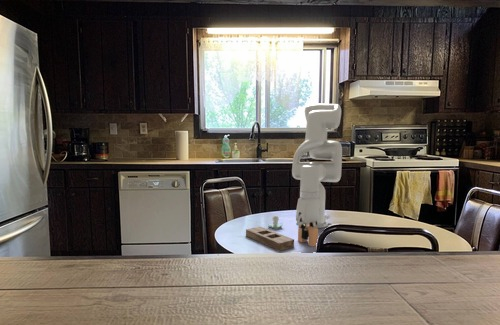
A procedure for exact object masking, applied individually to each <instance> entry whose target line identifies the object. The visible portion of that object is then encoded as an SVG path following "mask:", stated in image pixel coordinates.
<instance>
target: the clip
mask: <svg viewBox="0 0 500 325" xmlns="http://www.w3.org/2000/svg"><path fill="white" fill-rule="evenodd" d="M297 226H298V225H297ZM304 226H305V224H304ZM297 228H298V229H297V230H298V231H297V241H298V242H300V243H305V242H307V244H308V246H310V247H316V243H317V239H318V240H319V228H315V227H312V226H309V225H308V228H307V230H308V233H309V237H308V240H305V239H302V229H301V228H300V227H299V226H298V227H297Z"/></svg>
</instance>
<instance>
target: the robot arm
mask: <svg viewBox="0 0 500 325" xmlns="http://www.w3.org/2000/svg"><path fill="white" fill-rule="evenodd" d="M304 115H305V120H306V128H305V138H304V141H303V142H302V143H301V144H300V145H299V146H298V147H297V148H296V151H295V152H294V155H293V159H292V168H291V174H292V175H291V176H292V177H293V178H294V179H295V180H300V182H299V188H300V189H299V198H298V199H297V203H296V204H297V205H296V210H295V213H296V214H295V221H296V222H295V225H296V226H299V227H300V228H301V229H302V239H305V240H307V241H309V233H308V230H307V228H308V225H309V226H312V227H315V228H318V229H321V228H326V227H328V222H327V220H329V219H331V216H330V215H329V214H328V215H325V212H326V210H325V209H326V189H325V187H324V185H323V184H322V183H321V182H324V183H326V182H327V183H338V182H339V181H340V180H341V177H342V167H343V166H342V165H343V164H342V163H343V147H342V144H341V142H340V141H338V140H328V130H331V129H333V130H335V129H338V127H339V126H340V124H341V117H342V108H341V106H340V104H338V103H312V104H311V103H310V104H307V105H306V107H305V108H304ZM327 129H328V130H327ZM306 153H308V154H309V155H308V156H309V157H310V158H311V159H314V160H325V161H326V162H325V161H310V162H301V158H302V157H303V156H304V155H305V154H306ZM327 161H329V162H327ZM330 161H332V162H330ZM304 224H305V226H304Z"/></svg>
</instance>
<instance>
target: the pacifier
mask: <svg viewBox="0 0 500 325" xmlns="http://www.w3.org/2000/svg"><path fill="white" fill-rule="evenodd" d="M271 219H272V223H271V222H268V223H267V226H268V228H271V229H276V230H277V229H280V228H282V227H283V226H284V223H282V222H281V223H278V221H279V217H278V215H273V216H272V218H271Z"/></svg>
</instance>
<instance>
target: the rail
mask: <svg viewBox="0 0 500 325" xmlns="http://www.w3.org/2000/svg"><path fill="white" fill-rule="evenodd" d="M245 237H247V238H249V239H252V240H255V241H257V242H259V243H260V244H262V245H266V246H268V247H270V248H272V249H274V250H276V251H278V250H279V251H283V250H287V249H291V248H295V239H293V238H291V237H288V236H286V235H284V234H280V233H278V232H276V231H273V230H270V229H268V228H265V227H262V226H256V227H252V228H246V229H245Z"/></svg>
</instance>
